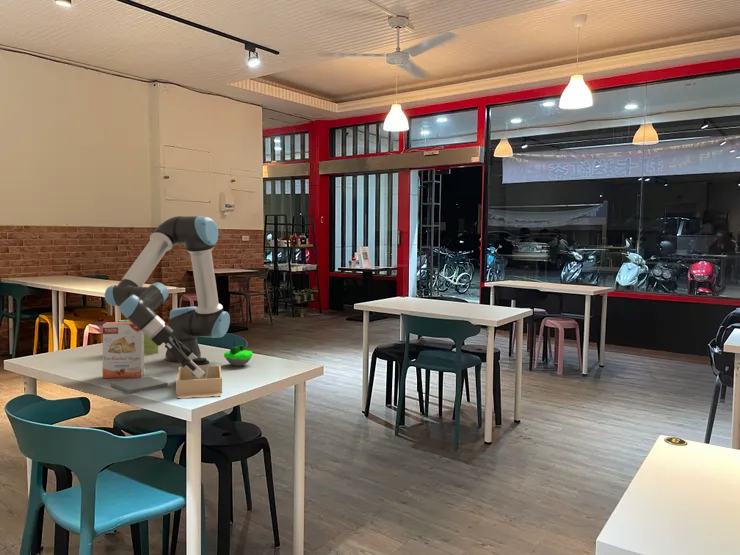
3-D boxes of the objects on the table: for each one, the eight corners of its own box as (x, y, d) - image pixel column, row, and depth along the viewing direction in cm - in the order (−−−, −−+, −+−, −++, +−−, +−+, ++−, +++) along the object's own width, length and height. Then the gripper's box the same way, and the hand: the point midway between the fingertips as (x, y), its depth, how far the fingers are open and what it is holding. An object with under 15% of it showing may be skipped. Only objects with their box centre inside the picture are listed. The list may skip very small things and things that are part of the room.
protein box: (158, 353, 258) (158, 320, 257) (124, 357, 248) (124, 322, 247) (151, 349, 266) (151, 317, 265) (117, 353, 256) (117, 320, 255)
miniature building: (244, 369, 230) (245, 343, 229) (219, 367, 232) (219, 341, 232) (256, 363, 242) (257, 338, 241) (232, 361, 244) (232, 336, 243)
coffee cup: (207, 383, 206) (207, 356, 206) (211, 387, 200) (211, 360, 200) (188, 384, 203) (188, 357, 202) (191, 389, 197) (191, 361, 196)
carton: (175, 399, 184) (175, 384, 184) (179, 376, 214) (179, 364, 214) (222, 396, 189) (222, 382, 188) (220, 375, 219) (220, 362, 218)
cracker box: (102, 378, 209) (101, 324, 208) (105, 375, 215) (105, 321, 213) (141, 377, 212) (141, 323, 211) (144, 374, 218) (144, 321, 217)
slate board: (147, 379, 209) (147, 376, 209) (167, 386, 200) (167, 382, 200) (111, 386, 199) (111, 382, 198) (130, 393, 190) (130, 390, 190)
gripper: (153, 333, 207) (195, 371, 212) (146, 345, 184) (193, 387, 189) (168, 318, 209) (209, 356, 214) (163, 328, 185) (209, 371, 190)
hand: (202, 371), depth 201 cm, fingers open, 13 cm apart
